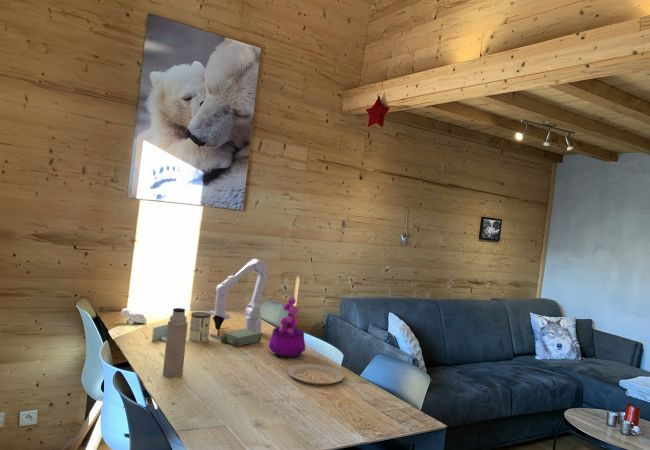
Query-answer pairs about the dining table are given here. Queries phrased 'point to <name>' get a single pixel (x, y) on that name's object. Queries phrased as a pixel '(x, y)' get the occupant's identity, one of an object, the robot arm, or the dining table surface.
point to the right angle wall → (160, 333)
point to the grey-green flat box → (239, 337)
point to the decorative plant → (288, 334)
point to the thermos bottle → (175, 344)
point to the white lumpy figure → (133, 316)
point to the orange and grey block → (222, 330)
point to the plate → (327, 369)
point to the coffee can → (199, 326)
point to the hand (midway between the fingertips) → (217, 329)
